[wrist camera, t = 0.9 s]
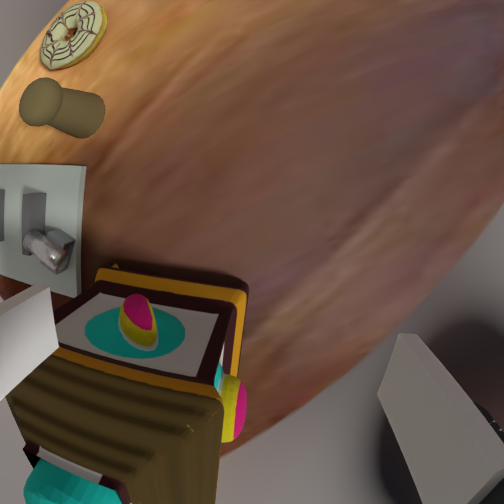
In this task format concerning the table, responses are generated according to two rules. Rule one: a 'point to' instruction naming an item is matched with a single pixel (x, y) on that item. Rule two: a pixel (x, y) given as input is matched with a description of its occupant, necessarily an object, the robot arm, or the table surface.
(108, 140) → the table surface
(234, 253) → the table surface
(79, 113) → the cork
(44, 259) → the shaft
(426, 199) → the table surface
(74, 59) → the decorated donut
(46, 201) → the rig
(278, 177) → the table surface
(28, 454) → the decorative lantern
